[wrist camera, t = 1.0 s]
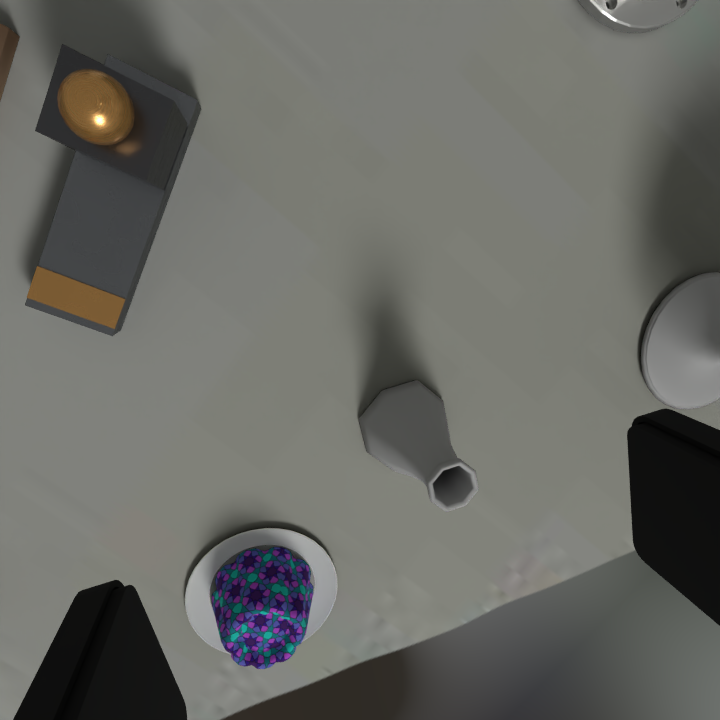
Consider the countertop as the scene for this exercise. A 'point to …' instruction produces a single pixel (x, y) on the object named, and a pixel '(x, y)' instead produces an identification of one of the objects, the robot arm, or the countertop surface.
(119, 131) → the handle
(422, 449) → the flask
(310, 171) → the countertop surface
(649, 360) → the chalice
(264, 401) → the countertop surface
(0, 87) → the tray
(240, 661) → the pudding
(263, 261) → the countertop surface
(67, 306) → the rail
